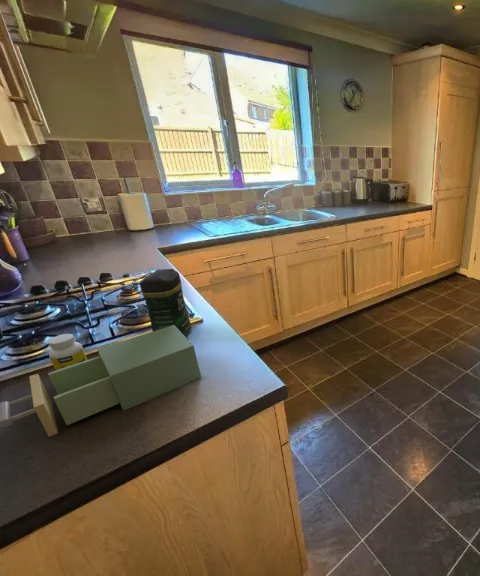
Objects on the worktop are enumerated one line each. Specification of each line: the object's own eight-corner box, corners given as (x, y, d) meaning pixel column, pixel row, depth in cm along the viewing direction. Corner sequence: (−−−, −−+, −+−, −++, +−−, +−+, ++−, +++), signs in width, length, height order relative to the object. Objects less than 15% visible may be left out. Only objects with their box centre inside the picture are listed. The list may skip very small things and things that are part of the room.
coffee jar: (184, 343, 87) (168, 279, 79) (151, 346, 85) (131, 280, 78) (196, 325, 95) (182, 265, 88) (166, 327, 94) (149, 266, 86)
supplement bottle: (65, 386, 71) (47, 348, 67) (56, 377, 73) (39, 340, 69) (95, 373, 75) (81, 336, 71) (86, 364, 78) (72, 329, 74)
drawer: (10, 453, 55) (-8, 423, 52) (8, 416, 62) (-8, 388, 59) (139, 398, 67) (130, 371, 64) (125, 373, 74) (116, 347, 71)
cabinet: (123, 411, 65) (110, 376, 61) (109, 381, 73) (97, 348, 69) (201, 377, 75) (193, 345, 71) (181, 354, 83) (174, 324, 79)
